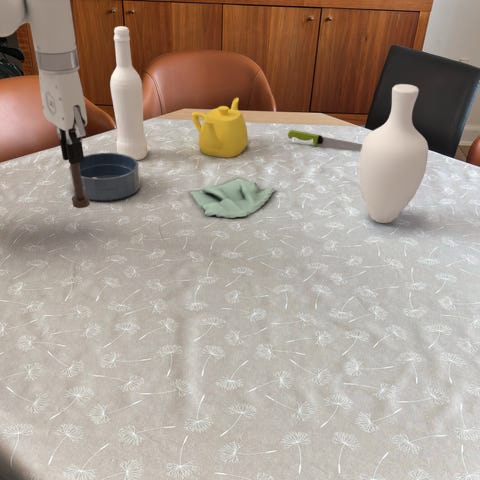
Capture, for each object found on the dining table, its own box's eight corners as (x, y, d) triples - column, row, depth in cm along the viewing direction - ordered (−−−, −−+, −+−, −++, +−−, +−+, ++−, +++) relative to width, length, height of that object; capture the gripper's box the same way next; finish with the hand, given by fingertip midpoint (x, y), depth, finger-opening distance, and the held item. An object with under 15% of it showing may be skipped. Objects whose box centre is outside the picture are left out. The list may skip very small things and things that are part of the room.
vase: (362, 201, 156) (381, 73, 137) (421, 214, 152) (450, 83, 132) (341, 225, 146) (360, 91, 127) (404, 240, 142) (432, 103, 123)
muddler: (77, 209, 137) (65, 136, 127) (69, 203, 139) (57, 131, 129) (92, 205, 139) (81, 132, 129) (85, 199, 141) (73, 127, 131)
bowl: (93, 208, 151) (90, 185, 147) (61, 185, 160) (57, 162, 156) (152, 191, 158) (151, 168, 154) (118, 169, 167) (116, 147, 163)
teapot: (207, 131, 189) (207, 90, 181) (258, 138, 185) (259, 98, 177) (176, 158, 174) (174, 115, 166) (230, 167, 170) (230, 123, 162)
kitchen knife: (365, 155, 181) (368, 144, 179) (365, 156, 180) (367, 145, 178) (287, 140, 183) (289, 129, 181) (286, 141, 182) (288, 130, 180)
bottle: (111, 156, 173) (96, 27, 153) (131, 147, 178) (119, 21, 158) (134, 164, 170) (121, 33, 150) (154, 154, 175) (145, 26, 154)
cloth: (201, 221, 147) (200, 211, 145) (186, 182, 162) (186, 172, 161) (288, 215, 150) (289, 204, 148) (266, 177, 166) (266, 167, 164)
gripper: (20, 53, 123) (39, 152, 135) (58, 73, 114) (75, 177, 126) (56, 47, 126) (72, 145, 139) (96, 66, 117) (109, 168, 130)
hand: (73, 159), depth 133 cm, fingers closed on muddler
